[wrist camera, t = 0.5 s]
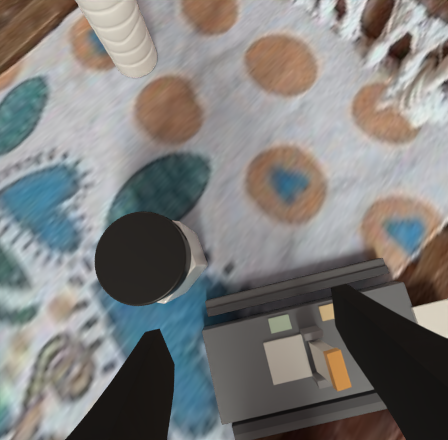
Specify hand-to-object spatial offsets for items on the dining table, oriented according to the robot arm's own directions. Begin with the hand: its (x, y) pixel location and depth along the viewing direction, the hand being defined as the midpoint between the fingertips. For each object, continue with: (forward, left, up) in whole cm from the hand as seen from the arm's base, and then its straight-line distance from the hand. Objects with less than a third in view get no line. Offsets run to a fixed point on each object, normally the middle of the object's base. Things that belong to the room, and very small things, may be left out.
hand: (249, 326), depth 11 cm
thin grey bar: (-15, -6, -23) cm, 28 cm away
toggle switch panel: (-9, -8, -23) cm, 25 cm away
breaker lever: (-9, -6, -20) cm, 22 cm away
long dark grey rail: (-2, -6, -23) cm, 23 cm away
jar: (+5, +8, -23) cm, 25 cm away
